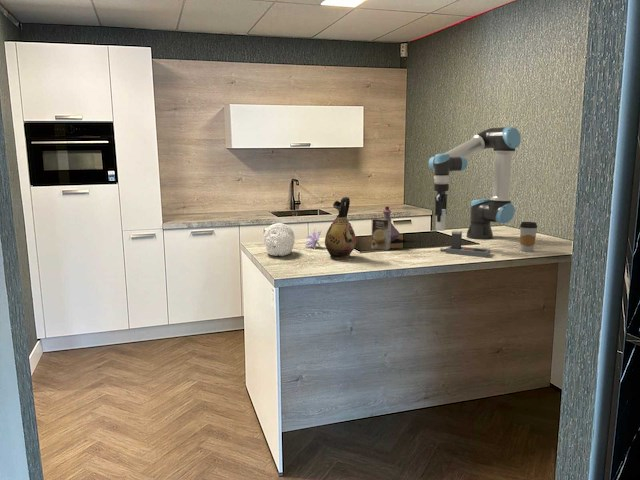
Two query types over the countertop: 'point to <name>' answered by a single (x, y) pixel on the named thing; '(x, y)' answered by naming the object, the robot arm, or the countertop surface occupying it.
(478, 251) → the pdu strip
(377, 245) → the coffee box
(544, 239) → the countertop surface
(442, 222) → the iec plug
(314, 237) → the water lily
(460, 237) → the twin plug
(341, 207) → the ceramic jug
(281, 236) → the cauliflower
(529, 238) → the coffee cup
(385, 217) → the flask
